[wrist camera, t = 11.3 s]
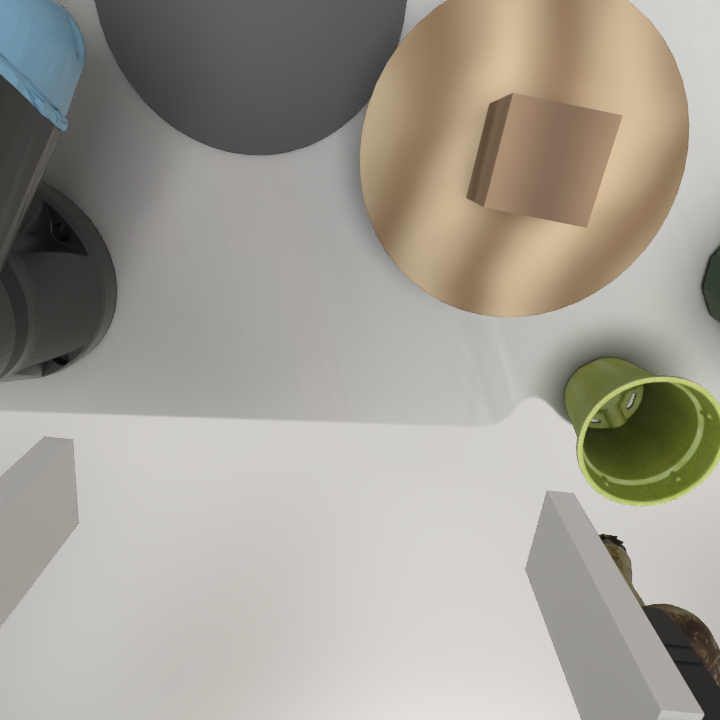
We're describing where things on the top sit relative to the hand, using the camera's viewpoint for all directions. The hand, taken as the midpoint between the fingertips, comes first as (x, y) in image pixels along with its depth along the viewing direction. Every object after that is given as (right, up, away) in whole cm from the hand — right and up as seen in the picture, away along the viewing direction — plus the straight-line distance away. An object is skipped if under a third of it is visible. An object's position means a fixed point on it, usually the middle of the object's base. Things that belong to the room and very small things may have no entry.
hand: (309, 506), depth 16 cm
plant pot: (+21, +2, +29) cm, 36 cm away
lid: (+10, +16, +17) cm, 25 cm away
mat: (-6, +28, +21) cm, 35 cm away
